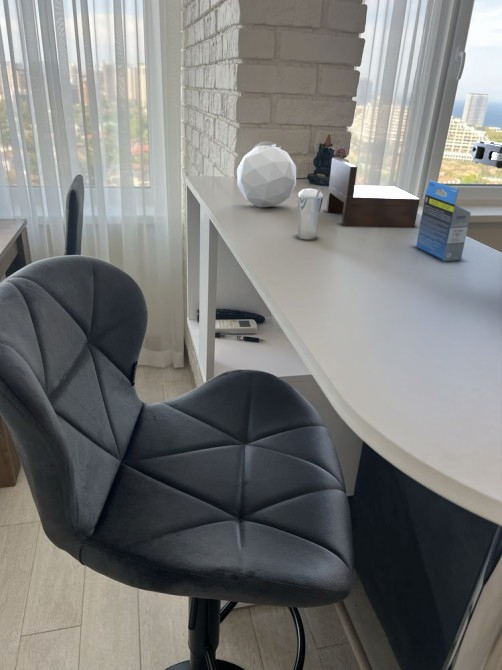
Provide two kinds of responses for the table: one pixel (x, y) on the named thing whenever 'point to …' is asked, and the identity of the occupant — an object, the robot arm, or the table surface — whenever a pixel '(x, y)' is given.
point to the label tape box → (442, 223)
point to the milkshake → (309, 212)
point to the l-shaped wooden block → (368, 200)
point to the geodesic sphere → (266, 176)
